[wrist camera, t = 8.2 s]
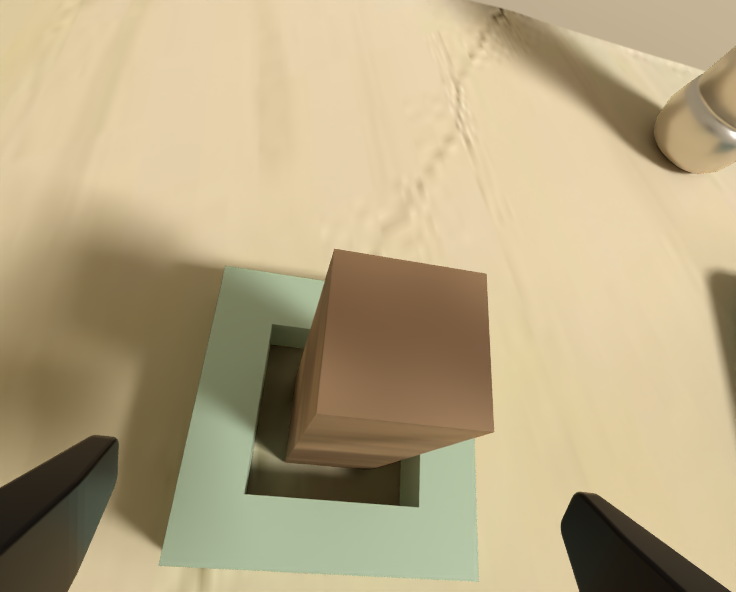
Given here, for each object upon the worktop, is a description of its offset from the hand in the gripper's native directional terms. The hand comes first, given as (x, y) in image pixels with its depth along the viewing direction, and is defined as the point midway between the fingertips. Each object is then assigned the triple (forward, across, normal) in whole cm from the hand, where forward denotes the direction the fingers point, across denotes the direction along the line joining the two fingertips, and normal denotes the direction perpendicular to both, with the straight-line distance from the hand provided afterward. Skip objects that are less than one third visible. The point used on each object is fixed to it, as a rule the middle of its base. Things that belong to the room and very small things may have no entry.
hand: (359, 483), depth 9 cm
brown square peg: (+12, -1, +7) cm, 14 cm away
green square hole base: (+12, -1, +7) cm, 14 cm away
